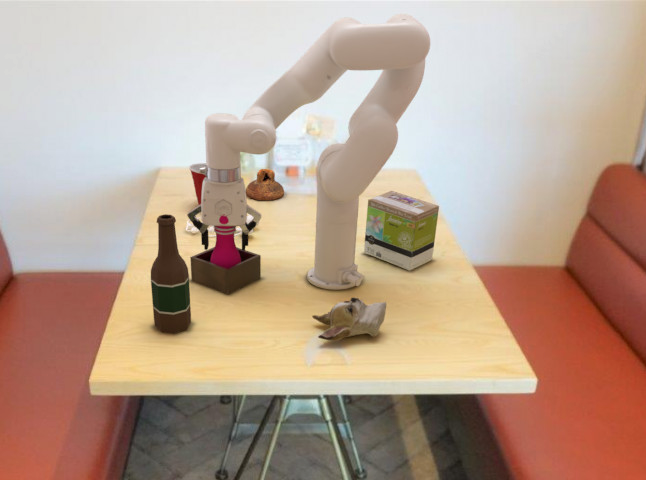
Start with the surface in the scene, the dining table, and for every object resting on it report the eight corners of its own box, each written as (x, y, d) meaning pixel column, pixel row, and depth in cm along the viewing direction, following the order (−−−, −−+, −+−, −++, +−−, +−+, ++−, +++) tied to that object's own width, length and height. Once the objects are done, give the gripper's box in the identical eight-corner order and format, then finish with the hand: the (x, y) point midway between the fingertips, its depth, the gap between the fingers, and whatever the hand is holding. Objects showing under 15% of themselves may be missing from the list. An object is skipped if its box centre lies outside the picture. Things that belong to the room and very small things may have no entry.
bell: (288, 190, 246) (288, 166, 242) (278, 202, 236) (278, 178, 232) (251, 186, 248) (251, 162, 244) (240, 198, 238) (240, 174, 234)
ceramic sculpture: (392, 306, 160) (317, 312, 159) (390, 344, 165) (318, 350, 164) (381, 284, 169) (311, 290, 168) (380, 321, 174) (312, 326, 173)
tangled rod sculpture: (177, 241, 212) (176, 227, 210) (195, 218, 223) (193, 204, 221) (248, 247, 209) (247, 233, 206) (262, 224, 220) (261, 209, 217)
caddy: (260, 278, 191) (260, 255, 188) (228, 294, 183) (227, 270, 180) (224, 265, 197) (223, 242, 194) (191, 280, 189) (190, 257, 186)
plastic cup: (236, 206, 233) (235, 165, 226) (213, 216, 225) (211, 174, 219) (206, 198, 238) (204, 158, 231) (183, 209, 230) (180, 167, 223)
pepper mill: (227, 288, 186) (225, 205, 175) (204, 280, 190) (201, 198, 179) (247, 279, 191) (247, 197, 180) (224, 270, 195) (222, 190, 184)
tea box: (362, 254, 205) (366, 198, 197) (386, 244, 211) (391, 189, 203) (410, 272, 197) (416, 213, 189) (433, 260, 203) (440, 203, 195)
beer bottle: (175, 337, 166) (168, 226, 153) (146, 327, 169) (137, 218, 156) (198, 323, 171) (193, 215, 158) (170, 313, 175) (163, 207, 162)
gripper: (182, 177, 173) (185, 253, 183) (262, 179, 173) (262, 255, 183) (185, 167, 179) (189, 241, 189) (263, 169, 180) (263, 242, 189)
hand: (225, 247), depth 186 cm, fingers open, 8 cm apart
